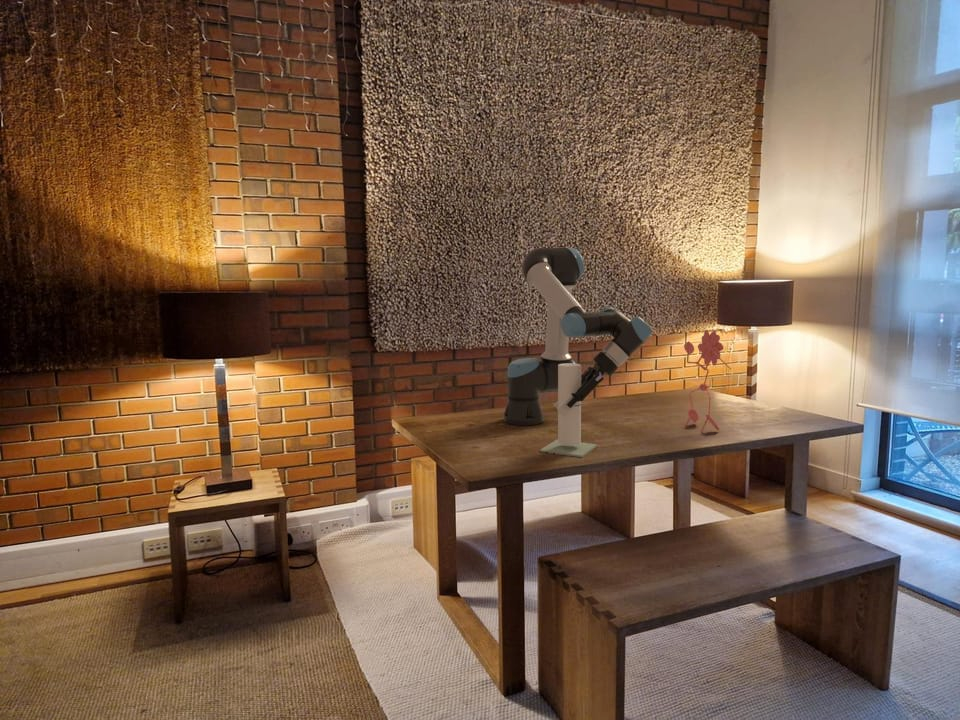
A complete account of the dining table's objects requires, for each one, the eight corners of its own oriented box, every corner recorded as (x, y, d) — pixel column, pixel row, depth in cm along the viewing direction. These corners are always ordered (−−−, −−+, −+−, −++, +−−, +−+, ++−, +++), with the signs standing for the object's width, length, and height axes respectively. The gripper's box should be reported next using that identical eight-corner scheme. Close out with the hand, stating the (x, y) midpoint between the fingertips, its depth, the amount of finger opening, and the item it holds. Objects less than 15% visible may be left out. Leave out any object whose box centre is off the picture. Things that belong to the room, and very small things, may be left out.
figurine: (714, 438, 214) (718, 334, 209) (670, 421, 238) (673, 328, 233) (752, 434, 218) (757, 332, 213) (705, 418, 242) (709, 326, 237)
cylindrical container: (580, 446, 199) (580, 366, 195) (557, 445, 200) (557, 366, 197) (581, 440, 206) (581, 363, 202) (558, 439, 207) (559, 363, 204)
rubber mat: (539, 451, 200) (539, 449, 200) (556, 441, 213) (556, 439, 213) (582, 457, 194) (582, 455, 194) (597, 446, 206) (597, 444, 206)
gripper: (626, 372, 190) (571, 426, 192) (611, 362, 210) (562, 411, 212) (608, 354, 189) (554, 409, 191) (595, 346, 209) (546, 396, 211)
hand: (558, 410), depth 201 cm, fingers closed on cylindrical container, 7 cm apart
